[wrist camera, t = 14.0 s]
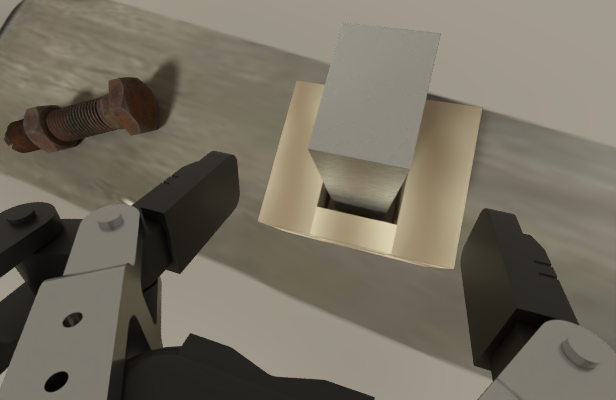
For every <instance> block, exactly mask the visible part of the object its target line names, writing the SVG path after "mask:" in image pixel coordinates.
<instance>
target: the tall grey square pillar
mask: <svg viewBox="0 0 616 400" xmlns="http://www.w3.org/2000/svg"><path fill="white" fill-rule="evenodd" d="M440 35H441V34H440V33H431V32H421V31H413V30H404V29H395V28H386V27H377V26H368V25H359V24H351V23H342V26H341V29H340V33H339V37H338V40H337V44H336V48H335V51H334V55H333V58H332V62H331V66H330V69H329V73H328V76H327V80H326V84H325V87H324V91H323V94H322V98H321V102H320V105H319V109H318V112H317V116H316V120H315V123H314V127H313V130H312V134H311V138H310V141H309V145H308V151H309V153H310V155H311V157H312V159H313V161H314V163H315V165H316V167H317V170H318V172H319V174H320V176H321V178H322V180H323V182H324V184H325V187H326V189H327V191H328V193H329V195H330V197H331V199H332V201H333V203H334V206H335V208H336V210H337V211H340V212H344V213H348V214H352V215H357V216H361V217H365V218H369V219H373V220H378V221H382V220H383V218H384V216H385V214H386V213H387V211H388V209H389V207H390V205H391V203H392V202H393V200H394V198H395V196H396V194H397V193H398V191H399V189H400V187H401V185H402V183H403V182H404V180H405V178H406V176H407V174H408V172H409V171H410V168H411V164H412V159H413V155H414V150H415V146H416V141H417V137H418V132H419V128H420V124H421V119H422V115H423V110H424V106H425V101H426V97H427V92H428V88H429V83H430V79H431V74H432V70H433V66H434V61H435V57H436V52H437V48H438V43H439V39H440Z"/></svg>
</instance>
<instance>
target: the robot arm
mask: <svg viewBox="0 0 616 400" xmlns="http://www.w3.org/2000/svg"><path fill="white" fill-rule="evenodd" d="M239 196H240V191H239V178H238V166H237V159H236V157H235V156H234V155H231V154H227V153H222V152H217V151H211V152H210V153H209V154H207V155H206V156H205V157H204V158H202V159H201V160H200V161H198V162H194V163H192V164H189V165H187V166H184V167H182V168H181V169H179V170H178V171H177V172H175V173H174V174H173V175H172V177H169V178H167V179H166V180H165V181H164V183H161V184H160V185H158V186H157V187H156V188H154V189H153V190H152V191H150V192H149V193H148V194H146V195H145V196H144V197H142V198H141V199H140V200H138V201H137V202H136V203H134V204H133V205H132V206H130V205H123V204H119V205H111V206H107V207H103V208H100V209H98V210H96V211H94V212H92V213H90V214H89V215H87V216H86V217H85V218H84V219H60V217H59V215H58V213H57V211H56V209H55V207H54V206H53V205H51V204H49V203H43V202H33V203H27V204H22V205H19V206H16V207H12V208H10V209H8V210H5V211H3V212H2V213H0V277H2V276H3V275H5V274H6V273H7V272H9V271H10V270H11V269H13V268H14V267H15V268H16V269H17V271H18V272H19V273H20V275H21V276H22V277H23V279H24V280H25V283H23V284H22V285H21V286H20V287H18V288H17V289H16V290H15V291H13V292H12V293H11V294H10V295H8V296H7V297H6V298H5V299H3V300H2V301H1V302H0V374H1V373H3V372H4V371H5V370H6V369H7V368H8V370H7V372H6V375H5V378H4V380H3V382H2V385H1V388H0V400H374V399H375V398H374V397H372V396H369V395H366V394H363V393H361V392H358V391H355V390H352V389H349V388H346V387H343V386H340V385H338V384H335V383H332V382H329V381H326V380H317V379H302V378H287V377H275V376H271V375H269V374H267V373H266V372H265V371H263V370H262V369H260V368H259V367H257V366H256V365H255V364H253V363H252V362H251V361H249V360H248V359H247V358H245V357H244V356H242V355H241V354H240V353H238V352H237V351H236V350H234V349H233V348H231V347H229V346H226V345H222V344H220V343H217V342H214V341H212V340H209V339H206V338H203V337H200V336H197V335H194V334H191V333H190V335H189V336H188V337H187V339H186V340H185V342H184V343H183V345H182V346H177V347H165V348H163V344H162V339H161V287H162V284H161V283H162V282H161V278H160V275H161V274H162V273H163V272H164V271H165V270H169V271H172V272H175V273H179V274H181V272H182V271H183V270H184V269H185V268H186V266H187V265H188V264H189V263H190V262H191V260H192V259H193V258H194V257H195V256H196V255H197V253H198V252H199V251H200V250H201V249H202V247H203V246H204V245H205V244H206V243H207V242H208V240H209V239H210V238H211V237H212V236H213V234H214V233H215V232H216V231H217V230H218V228H219V227H220V226H221V225H222V224H223V223H224V221H225V220H226V219H227V218H228V217H229V215H230V214H231V213H232V212H233V211H234V209H235V208H236V206H237V204H238V201H239ZM461 272H462V280H463V287H464V295H465V303H466V310H467V318H468V325H469V333H470V340H471V348H472V355H473V363H474V366H477V367H480V368H483V369H487V370H490V371H491V373H492V379H493V382H492V383H491V385H490V386H489V387H488V388H487V389H486V390H485V391H484V393H483V394H482V395H481V396H480V397H479V399H478V400H616V353H615V352H614V351H613V350H612V349H611V348H610V347H609V346H608V345H607V344H606V343H605V342H604V341H603V340H601V339H600V338H599V337H598V336H596V335H595V334H593V333H592V332H590V331H588V330H587V329H585V328H583V327H581V326H579V323H578V321H577V319H576V317H575V315H574V313H573V310H572V308H571V306H570V304H569V302H568V299H567V297H566V295H565V293H564V291H563V289H562V286H561V284H560V282H559V280H557V275H556V273H555V271H554V269H553V267H551V262H550V260H549V258H548V256H547V254H546V251H545V250H544V248H543V247H542V246H541V245H540V244H539V243H538V242H537V241H536V240H535V239H534V238H533V237H532V236H531V235H527V234H523V233H522V230H521V228H520V225H519V223H518V220H517V218H516V216H515V215H514V214H511V213H506V212H501V211H497V210H492V209H487V208H485V209H483V210H482V212H481V213H480V215H479V217H478V219H477V221H476V223H475V225H474V227H473V229H472V231H471V233H470V235H469V237H468V239H467V241H466V244H465V246H464V248H463V251H462V255H461Z"/></svg>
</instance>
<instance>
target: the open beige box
mask: <svg viewBox="0 0 616 400" xmlns="http://www.w3.org/2000/svg"><path fill="white" fill-rule="evenodd" d="M324 87H325V85H323V84H316V83H309V82H302V81H297V82H296V85H295V89H294V93H293V96H292V100H291V103H290V107H289V111H288V114H287V118H286V121H285V125H284V129H283V132H282V136H281V139H280V143H279V147H278V150H277V154H276V158H275V161H274V165H273V168H272V172H271V176H270V179H269V183H268V186H267V190H266V194H265V197H264V201H263V204H262V208H261V212H260V215H259V219H258V221H259V222H262V223H265V224H267V225H270V226H272V227H275V228H278V229H280V230H283V231H285V232H289V233H293V234H297V235H301V236H305V237H309V238H313V239H317V240H321V241H325V242H329V243H333V244H337V245H341V246H345V247H349V248H353V249H357V250H361V251H365V252H369V253H373V254H377V255H381V256H385V257H389V258H393V259H397V260H401V261H405V262H409V263H413V264H417V265H421V266H426V267H436V268H447V269H454V264H455V258H456V253H457V247H458V242H459V236H460V230H461V225H462V219H463V214H464V208H465V202H466V197H467V191H468V186H469V180H470V174H471V169H472V163H473V158H474V152H475V147H476V141H477V135H478V130H479V124H480V119H481V113H482V107H476V106H469V105H462V104H455V103H448V102H441V101H434V100H427V99H426V101H425V106H424V110H423V115H422V119H421V124H420V128H419V132H418V137H417V141H416V146H415V150H414V155H413V159H412V164H411V168H410V171H409V172H408V174H407V176H406V178H405V180H404V182H403V183H402V185H401V187H400V189H399V191H398V193H397V194H396V196H395V198H394V200H393V202H392V203H391V205H390V207H389V209H388V211H387V213H386V214H385V216H384V218H383V220H382V221H378V220H373V219H369V218H365V217H361V216H357V215H352V214H348V213H344V212H340V211H337V210H336V208H335V206H334V203H333V201H332V199H331V197H330V195H329V193H328V191H327V189H326V187H325V184H324V182H323V180H322V178H321V176H320V174H319V172H318V170H317V167H316V165H315V163H314V161H313V159H312V157H311V155H310V153H309V151H308V145H309V141H310V138H311V134H312V130H313V127H314V123H315V120H316V116H317V112H318V109H319V105H320V102H321V98H322V94H323V91H324Z"/></svg>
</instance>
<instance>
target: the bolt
mask: <svg viewBox="0 0 616 400" xmlns="http://www.w3.org/2000/svg"><path fill="white" fill-rule="evenodd" d="M159 122H160V120H159V108H158V105H157V102H156V100H155V97H154V95H153V93H152V91H151V90H150V89H149V88H148V87H147V86H146V85H145V84H144V83H143V82H142V81H140V80H139V79H138V78H131V77H124V78H117V79H113V80H110V81H109V94H107V95H105V96H103V97H101V98H98V99H95V100H90V101H86V102H82V103H79V104H75V105H72V106H68V107H65V108H61V107H59V106H56V105H49V106H38V107H33V108H30V109H27V110H26V113H25V115H24V119H22V120H19V121H15V122H12V123H10V125H9V126H8V128H7V131H6V134H5V138H4V140H5V142H6V143H7V144H8V146H9V145H10V144H11V145H12V144H13V145H12V149H14V150H15V151H18V152H21V153H27V152H32V151H35V150H39V149H42V150H44V151H46V152H48V153H49V152H54V151H59V150H64V149H68V148H72V147H76V145H77V143H78V139H82V138H85V137H89V136H94V135H97V134H102V133H105V132H109V131H114V130H117V129H126V130H127V132H128V133H129V134H130V135H136V134H141V133H146V132H150V131H154V130H157V129H158V126H159Z"/></svg>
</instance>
